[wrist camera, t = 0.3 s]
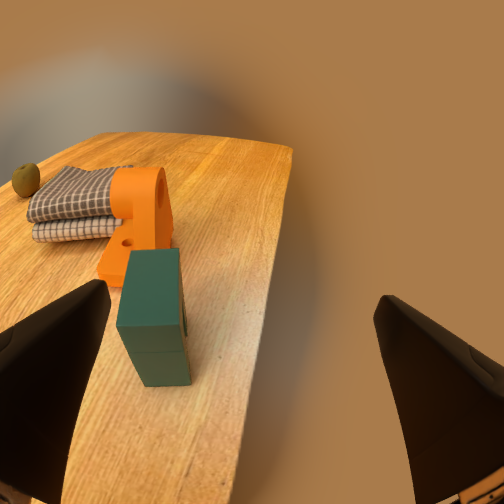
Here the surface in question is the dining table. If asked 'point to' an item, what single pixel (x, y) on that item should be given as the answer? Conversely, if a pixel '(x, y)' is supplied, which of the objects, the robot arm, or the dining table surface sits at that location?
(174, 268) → the dark green block
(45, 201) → the towel
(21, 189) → the apple
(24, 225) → the dining table surface
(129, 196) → the bracket
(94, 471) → the dining table surface
